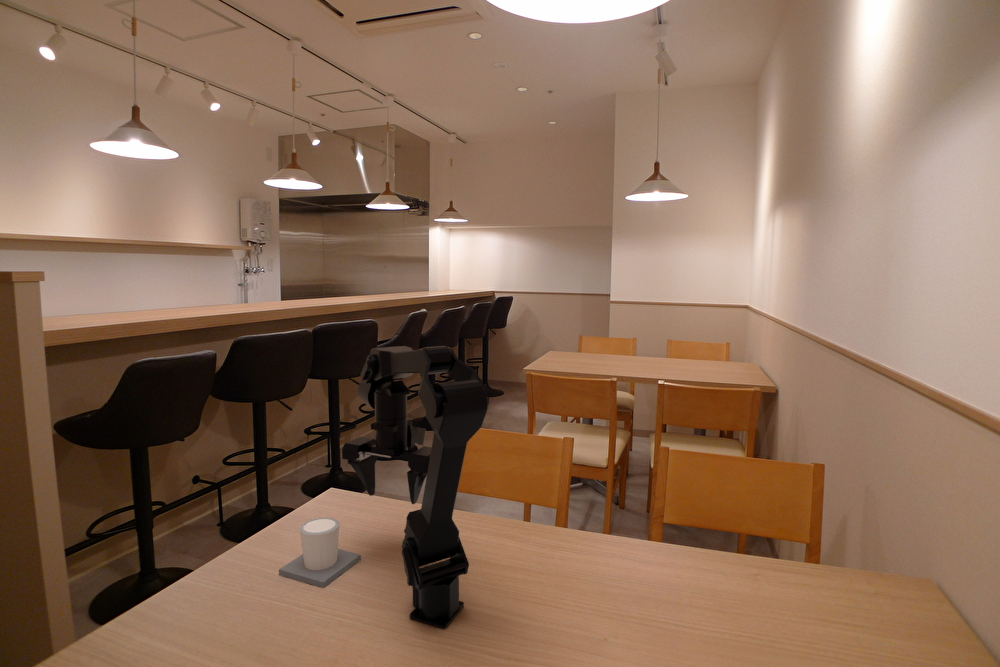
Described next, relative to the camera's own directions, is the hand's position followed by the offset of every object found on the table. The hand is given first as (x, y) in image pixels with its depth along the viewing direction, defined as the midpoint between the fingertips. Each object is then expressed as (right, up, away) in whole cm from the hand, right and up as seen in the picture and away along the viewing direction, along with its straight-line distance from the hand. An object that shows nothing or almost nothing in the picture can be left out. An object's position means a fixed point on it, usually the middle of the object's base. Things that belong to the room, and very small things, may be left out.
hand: (392, 499), depth 98 cm
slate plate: (-13, -12, -1) cm, 18 cm away
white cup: (-13, -11, -1) cm, 17 cm away
